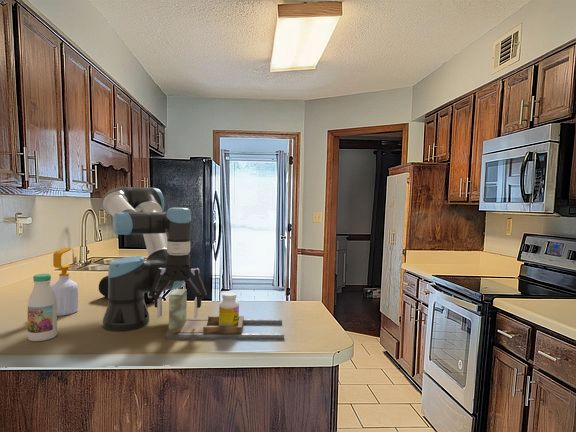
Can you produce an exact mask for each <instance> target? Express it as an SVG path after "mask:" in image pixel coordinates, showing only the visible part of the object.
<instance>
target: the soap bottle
mask: <svg viewBox="0 0 576 432" xmlns="http://www.w3.org/2000/svg"><path fill="white" fill-rule="evenodd" d="M69 251H71V248H70V247H63V248H60V249H58V250H56V251H55V252H54V253H53V257H52V260H53V261H52V263H53V265H52V266H53V267H54V268H57V269H59V271H61V273H59V274H58V280H57V281H56V282H54V283H53V284H51V288H52V290H53V292H54V293H55V296H56V300H57V317H59V316H61V317H62V316H63V317H64V316H68V315H69V316H70V315H73V314H76V312H78V311H79V286H78V283H77V282H75V281H74V280H72V279H70V273H69V272H67V271H69V268H73V265H69V264H64V265H62V256H63V254H65V253H67V252H69Z"/></svg>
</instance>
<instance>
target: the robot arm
mask: <svg viewBox="0 0 576 432" xmlns="http://www.w3.org/2000/svg"><path fill="white" fill-rule="evenodd" d="M101 206H102V208H103V211H105V212H106V213H107V214H109V215H111V216H112V229H113V233H114V234H115V235H123V236H129V235H130V236H131V235H142V236H143V239H144V244H145V248H146V251H147V255H148V256H147V257H146V258H145V257H144V256H142V255H134V256H133V255H132V256H125V257H122V258H121V257H120V258H117V259H115V260H113V261H112V262H111V263H109V264H108V274H107V276H108V297H107V299H108V300H107V301H108V303H107V306H106V310H105V312H104V314H103V318H102V328H103V329H105V330H107V331H114V332H116V331H117V332H124V331H131V330H136V329H140V328H143V327H145V326H147V325H148V324H149V323H150V314H149V310H148V308H147V305H146V303H145V302H144V293H145V292H149V296H150V297H154V299H155V301H153V302H154V308H155V309H156V310H157V315H156V316H157V317H156V318H157V319H161V317H162V315H163V296H161V295H162V293H163V292H164V291H167V290H168V291H169V290H170V291H174V290H175V289H182V287H183V286H184V284H186V285H187V286H188V287H189V289H190V290H191V292H192V294H193V295H194V296H195V298H194V308H193V310H194V313H193V314H194V315H193V319H198V316H199V309H200V308H201V307H202V299H203V298H206V297H207V295H208V293H207V290H206V288H205V284H204V282H203V280H202V277H201V272H200V270H201V269H200V268H199V267H196V268H192V267H191V254H190V252H191V232H192V231H191V229H192V227H191V226H192V225H191V224H192V223H191V221H192V216H191V210H190V208H188V207H169V208H168V209H167V211H164V210H165V200H164V194H163V192H162V191H161V190H160V189H159V188H156V187H151V186H149V187H136V186H119V187H115V188H111V189H110V190H108V191H107V192H106V193H105V194H104V195H103V197H102V199H101ZM191 273H192V275H193V276H194V277H195V278H194V279H195V281H196V283H197V286H198V287H197V286H196V284H195V283H194V282H193V280H192V278H191V277H190V274H191ZM155 291H158V292H157V293H155Z"/></svg>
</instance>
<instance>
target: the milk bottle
mask: <svg viewBox="0 0 576 432" xmlns="http://www.w3.org/2000/svg"><path fill="white" fill-rule="evenodd" d="M32 277H33V283H34V284H33V285H34V286H33V287H32V292H31V293H30V294H29V298H28V301H27V339H28V340H29V342H30V341H31V342H43V341H47V340H51V339H53V338H55V337H56V336H57V335H58V316H57V300H56V296H55V293H54V292H53V290H52V288H51V286H52V284H51V281H52V275H51V274H50V273H38V274H35V275H33V276H32Z"/></svg>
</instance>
